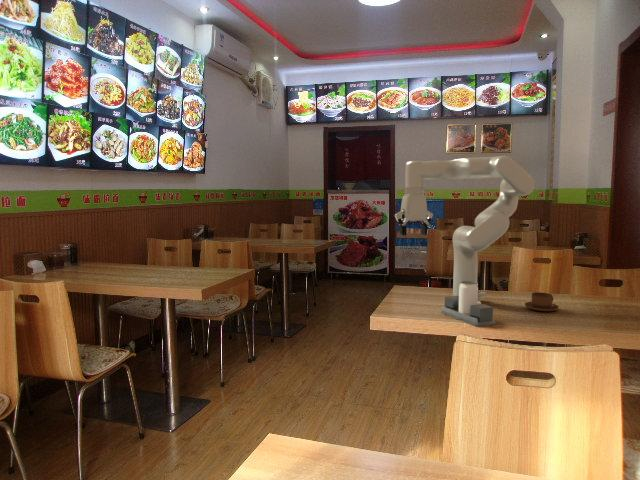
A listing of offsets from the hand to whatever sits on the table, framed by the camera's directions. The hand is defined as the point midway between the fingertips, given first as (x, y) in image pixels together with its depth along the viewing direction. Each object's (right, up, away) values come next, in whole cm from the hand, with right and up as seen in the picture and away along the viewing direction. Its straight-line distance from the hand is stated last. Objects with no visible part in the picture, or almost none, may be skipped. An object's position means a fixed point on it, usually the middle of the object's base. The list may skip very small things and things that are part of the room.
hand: (413, 234), depth 201 cm
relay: (+20, -30, -10) cm, 38 cm away
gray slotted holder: (+16, -31, -20) cm, 40 cm away
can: (+16, -30, -20) cm, 39 cm away
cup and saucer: (+49, -30, -6) cm, 57 cm away
